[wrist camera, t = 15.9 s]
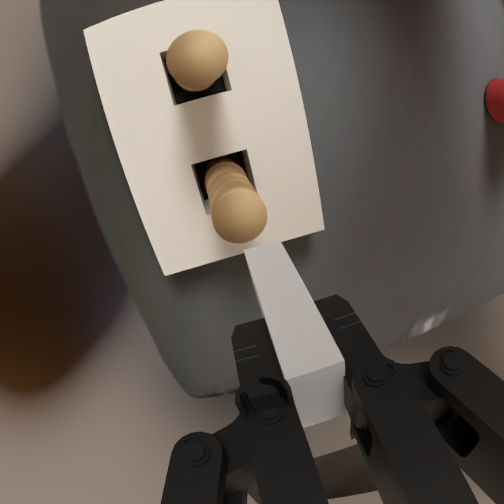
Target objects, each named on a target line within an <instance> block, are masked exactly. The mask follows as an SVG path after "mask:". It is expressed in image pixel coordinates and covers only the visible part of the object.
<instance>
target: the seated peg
mask: <svg viewBox="0 0 504 504" xmlns="http://www.w3.org/2000/svg"><path fill="white" fill-rule="evenodd" d="M228 59H229V55H228V49H227V47H226V45H225V43H224V42H223V40H222V39H221V38H220V37H219V36H217V35H216V34H214V33H212V32H210V31H206V30H192V31H188V32H185V33H183V34H181V35H180V36H178V37H177V38H176V39H175V40H174V41H173V42H172V43H171V45H170V47H169V49H168V51H167V55H166V64H167V68H168V71H169V72H170V74H171V75H172V77H173V78H174V79H175V81H176V83H177V84H178V85H179V86H180V87H181V88H183V89H185V90H187V91H191V92H198V91H202V90H205V89H207V88H208V87H210V86H211V85H212V84H213V83H214V82H215V81H216V80H217V79H218V78H219V77H220V76H221V75H222V74H223V73H224V71H225V69H226V67H227V64H228Z"/></svg>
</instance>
